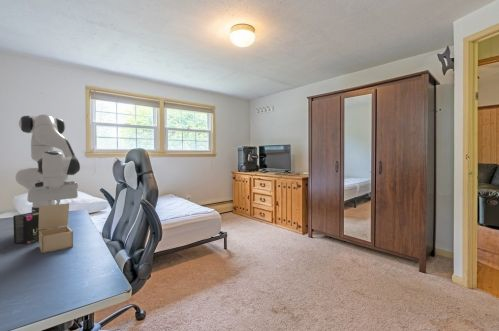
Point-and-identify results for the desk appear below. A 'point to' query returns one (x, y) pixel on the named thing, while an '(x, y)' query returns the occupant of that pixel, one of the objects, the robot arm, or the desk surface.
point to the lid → (53, 216)
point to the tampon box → (26, 228)
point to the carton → (55, 239)
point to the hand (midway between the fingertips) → (54, 208)
